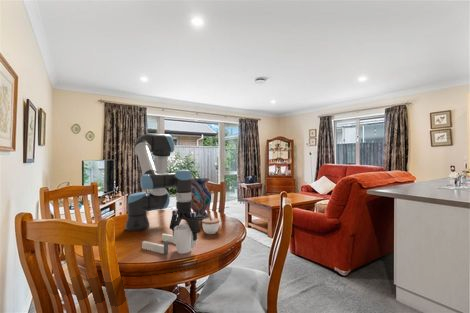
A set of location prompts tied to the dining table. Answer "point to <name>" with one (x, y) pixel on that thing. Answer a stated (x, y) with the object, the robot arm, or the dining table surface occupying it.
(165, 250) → the pair of white bars
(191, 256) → the dining table surface
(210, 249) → the dining table surface
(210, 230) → the lidded jar
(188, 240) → the cup
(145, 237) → the dining table surface
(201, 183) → the vase
